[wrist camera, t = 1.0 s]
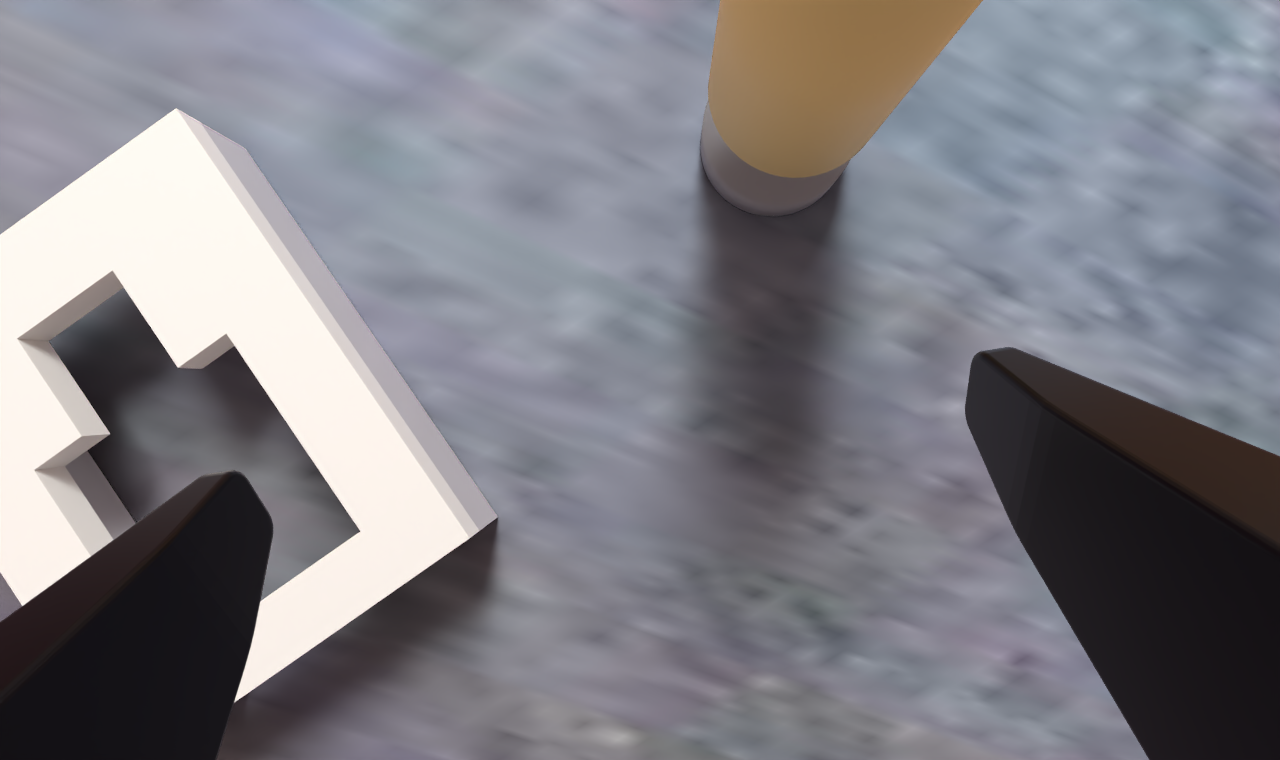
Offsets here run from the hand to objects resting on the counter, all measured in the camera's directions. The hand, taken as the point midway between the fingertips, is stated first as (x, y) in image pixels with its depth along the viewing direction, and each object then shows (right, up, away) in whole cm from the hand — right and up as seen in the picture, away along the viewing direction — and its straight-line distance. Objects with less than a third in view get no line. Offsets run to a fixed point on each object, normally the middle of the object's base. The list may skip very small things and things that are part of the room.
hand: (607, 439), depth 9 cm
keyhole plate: (-12, -1, +14) cm, 19 cm away
